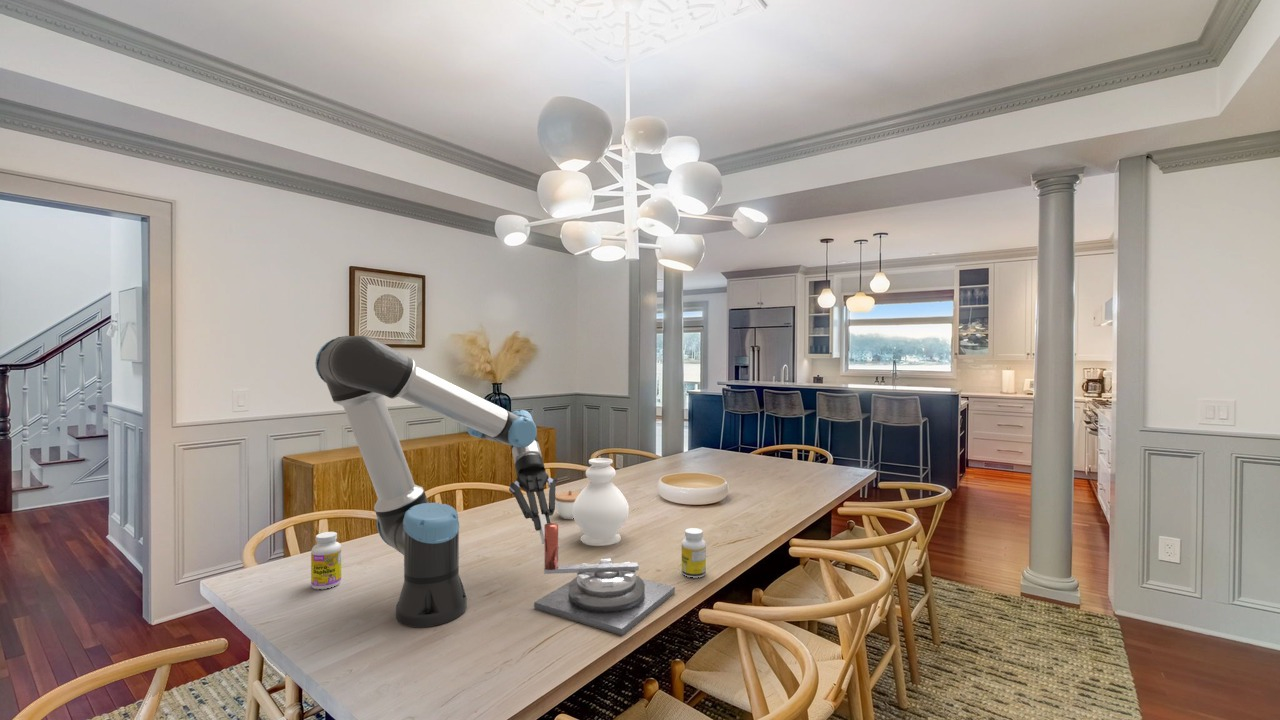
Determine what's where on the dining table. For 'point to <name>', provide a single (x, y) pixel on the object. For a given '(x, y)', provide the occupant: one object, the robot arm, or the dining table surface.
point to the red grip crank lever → (590, 570)
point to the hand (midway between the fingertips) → (546, 540)
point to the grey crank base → (606, 605)
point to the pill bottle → (693, 553)
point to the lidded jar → (565, 503)
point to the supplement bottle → (326, 561)
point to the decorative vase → (600, 505)
